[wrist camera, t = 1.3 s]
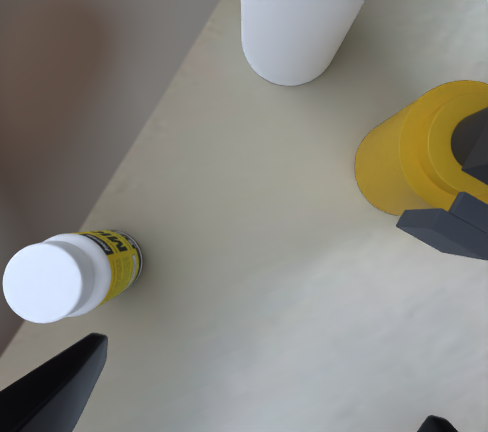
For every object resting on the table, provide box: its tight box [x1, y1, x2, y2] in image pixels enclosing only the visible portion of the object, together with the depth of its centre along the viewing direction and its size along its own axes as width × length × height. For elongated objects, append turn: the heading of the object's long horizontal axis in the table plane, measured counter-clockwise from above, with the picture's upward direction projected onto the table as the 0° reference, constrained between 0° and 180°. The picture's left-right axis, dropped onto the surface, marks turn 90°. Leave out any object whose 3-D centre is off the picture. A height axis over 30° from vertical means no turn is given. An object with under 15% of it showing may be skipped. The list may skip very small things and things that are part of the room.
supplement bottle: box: [3, 230, 142, 323], centre depth 20 cm, size 5×5×8 cm
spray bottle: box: [355, 80, 488, 216], centre depth 17 cm, size 7×7×14 cm
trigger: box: [396, 191, 488, 260], centre depth 15 cm, size 2×3×3 cm
